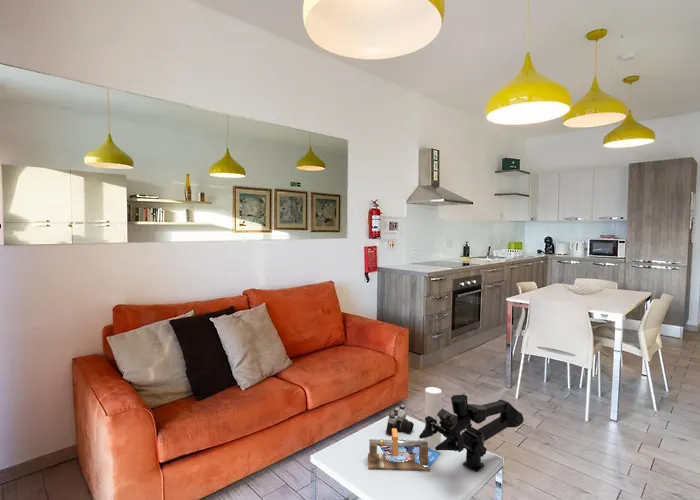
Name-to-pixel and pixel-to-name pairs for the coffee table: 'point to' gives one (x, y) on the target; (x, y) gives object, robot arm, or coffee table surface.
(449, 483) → the coffee table surface
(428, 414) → the cylindrical container
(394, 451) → the collar
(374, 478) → the coffee table surface
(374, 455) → the stand
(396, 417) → the camera
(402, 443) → the pipe
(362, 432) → the coffee table surface
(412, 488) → the coffee table surface
